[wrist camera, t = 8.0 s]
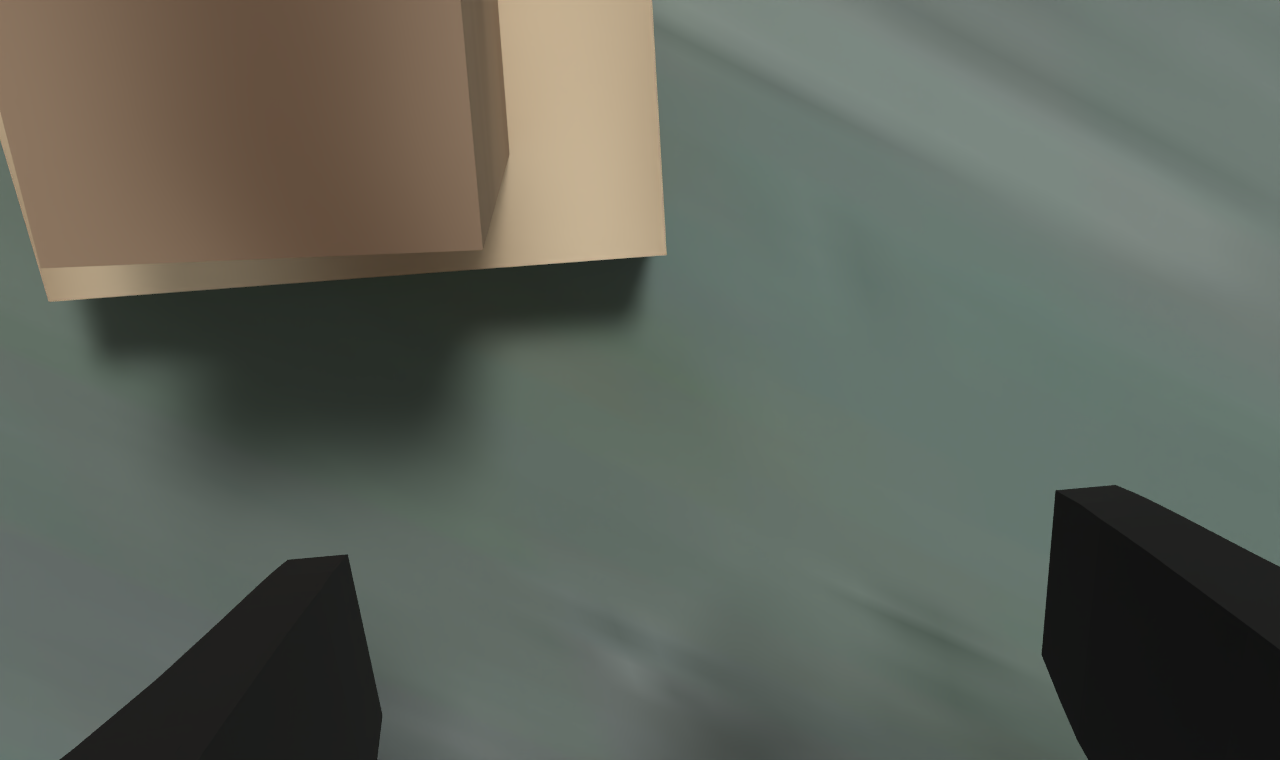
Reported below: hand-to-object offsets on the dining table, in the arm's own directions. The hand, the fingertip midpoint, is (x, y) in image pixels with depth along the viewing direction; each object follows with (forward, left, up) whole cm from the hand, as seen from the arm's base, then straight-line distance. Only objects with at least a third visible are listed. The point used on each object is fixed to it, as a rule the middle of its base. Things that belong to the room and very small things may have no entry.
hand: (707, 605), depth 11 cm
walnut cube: (-5, +6, -8) cm, 11 cm away
